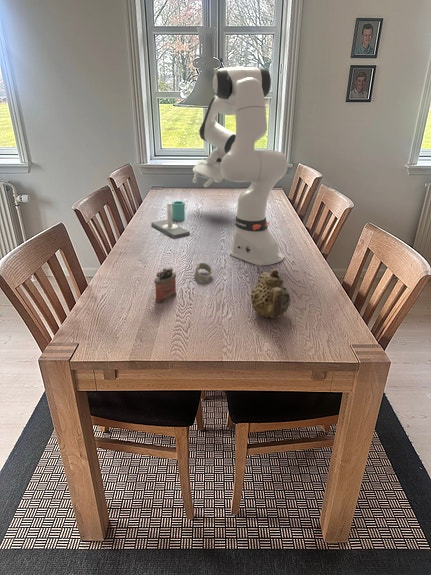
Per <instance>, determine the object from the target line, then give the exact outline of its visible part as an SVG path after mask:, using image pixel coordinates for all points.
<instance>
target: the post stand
mask: <svg viewBox="0 0 431 575" xmlns="http://www.w3.org/2000/svg"><path fill="white" fill-rule="evenodd" d="M166 204H167V205H166V209H167V210H166V211H167V212H166V213H167V215H166V216H167V218H166V219H162V220H157V221H152V222H151V223H150V224H151V227H154V228H155V229H157V230H159V231H161V232H162V233H163V234H165V235H167V236H169V237H171V238H173V239H178V238H184V237H187V236H190V235H191V234H190V233H191V231H189V230H187V229H185V228H183V227H182V226H180V225H177V224H176V223H174V222H173V219H172V203H171V202H167V203H166Z"/></svg>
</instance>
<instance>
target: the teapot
mask: <svg viewBox="0 0 431 575" xmlns="http://www.w3.org/2000/svg"><path fill="white" fill-rule="evenodd" d="M283 283H284V279H283V276H281V275H280V274H279V270H278V269H277V268H273V269H271V270H270V272H266V271H263V272H262V273H260V274H259V276H258V277H257V283H256V284H254V286H253V289H252V291H251V293H250V301H251V306H252V309H253V311H254V312H255V313H257V314H259V315H261V316H262V317H264V318H271V319H274V320H275V319H278V318H279V317H280V316H282V315H283V314H284V313H285V312H287V310H288V308H289V306H290V305H291V301H292V300H291V294H290V291H289V290H288V288H287V286H286V285H284V284H283Z"/></svg>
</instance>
